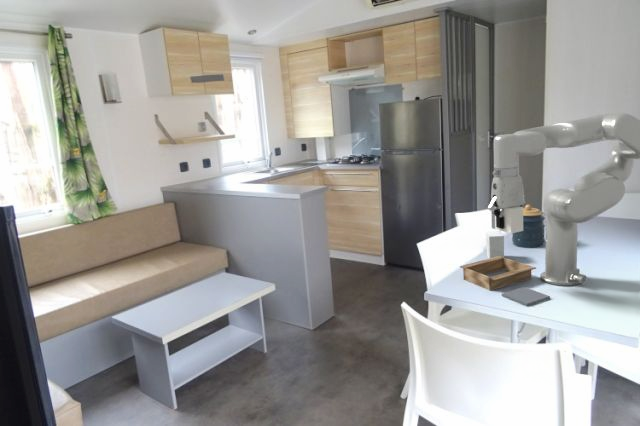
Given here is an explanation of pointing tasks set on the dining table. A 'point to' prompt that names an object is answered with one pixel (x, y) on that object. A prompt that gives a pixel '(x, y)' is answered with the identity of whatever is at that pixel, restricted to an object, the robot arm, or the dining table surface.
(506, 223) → the box
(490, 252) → the small box
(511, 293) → the pad
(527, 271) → the wooden tray
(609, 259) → the dining table surface
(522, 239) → the canister
